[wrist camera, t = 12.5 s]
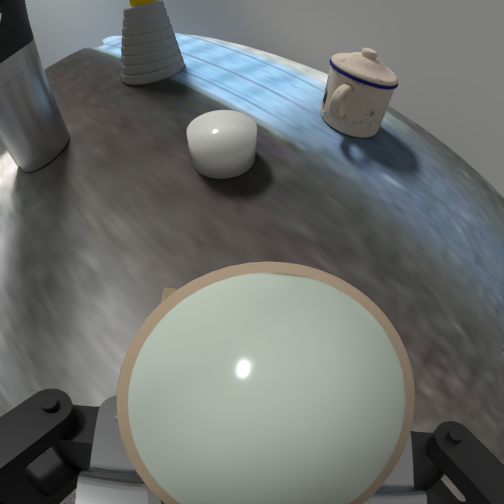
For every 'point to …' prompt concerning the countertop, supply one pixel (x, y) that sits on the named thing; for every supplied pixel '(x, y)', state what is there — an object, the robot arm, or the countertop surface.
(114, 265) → the countertop surface
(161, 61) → the soap bottle
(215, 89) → the countertop surface
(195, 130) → the white domed cylinder
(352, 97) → the teacup with lid
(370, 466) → the jar
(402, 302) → the countertop surface
